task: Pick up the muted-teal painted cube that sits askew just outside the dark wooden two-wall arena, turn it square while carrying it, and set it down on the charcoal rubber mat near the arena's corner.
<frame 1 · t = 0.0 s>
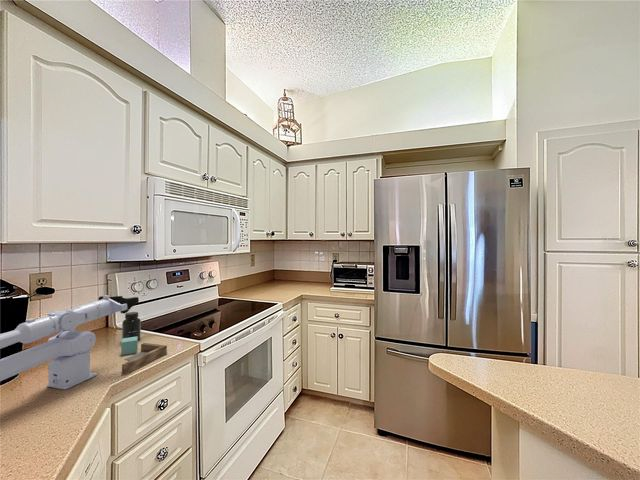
hand: (129, 299, 108), 22 cm above the countertop, tool horizontal, fingers open, 7 cm apart
cube: (129, 351, 111), on the countertop
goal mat: (140, 356, 106), on the countertop
supplement bottle: (131, 340, 124), on the countertop
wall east: (153, 352, 111), on the countertop
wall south: (144, 363, 101), on the countertop
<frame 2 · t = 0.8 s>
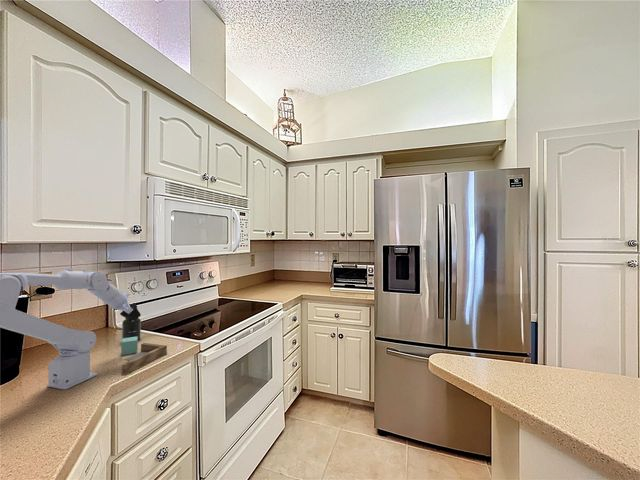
hand: (133, 312, 111), 16 cm above the countertop, tool tilted 50°, fingers open, 7 cm apart
nothing on the countertop moved.
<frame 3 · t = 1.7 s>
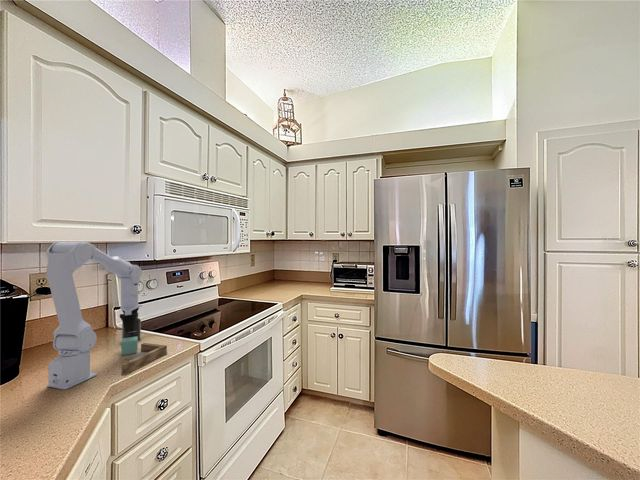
hand: (129, 328, 111), 9 cm above the countertop, tool pointing down, fingers open, 7 cm apart
nothing on the countertop moved.
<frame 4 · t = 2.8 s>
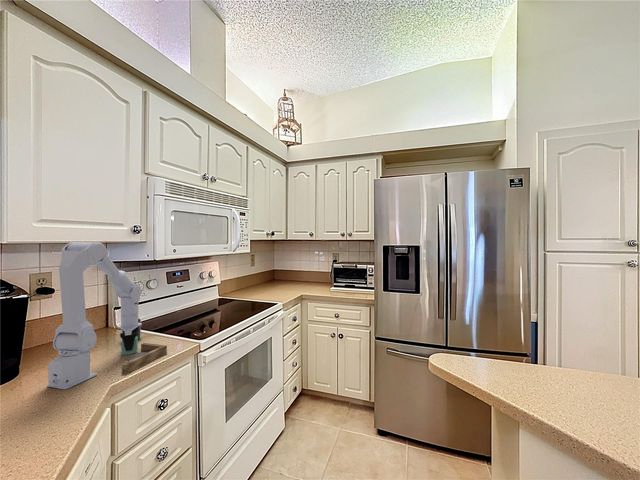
hand: (129, 348, 111), 1 cm above the countertop, tool pointing down, fingers closed on cube, 5 cm apart
cube: (129, 351, 111), on the countertop, touching gripper
everything else where it was.
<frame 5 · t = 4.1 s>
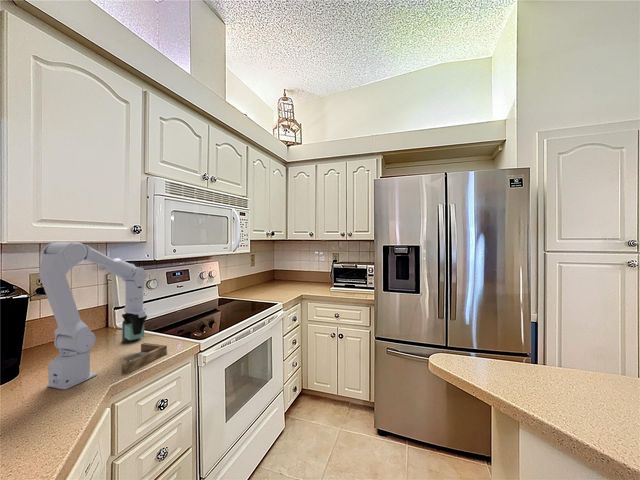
hand: (134, 332, 109), 8 cm above the countertop, tool pointing down, fingers closed on cube, 5 cm apart
cube: (134, 337, 109), point 7 cm above the countertop, touching gripper
everything else where it was.
when the fingers open (3 cm above the countertop, at t = 5.4 s): cube drops 1 cm, resting on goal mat.
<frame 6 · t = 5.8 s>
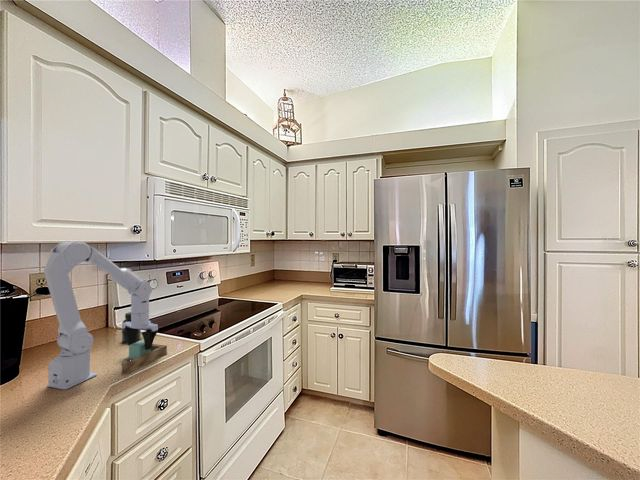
hand: (140, 348, 106), 3 cm above the countertop, tool pointing down, fingers open, 7 cm apart
cube: (140, 356, 106), resting on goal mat
everything else where it was.
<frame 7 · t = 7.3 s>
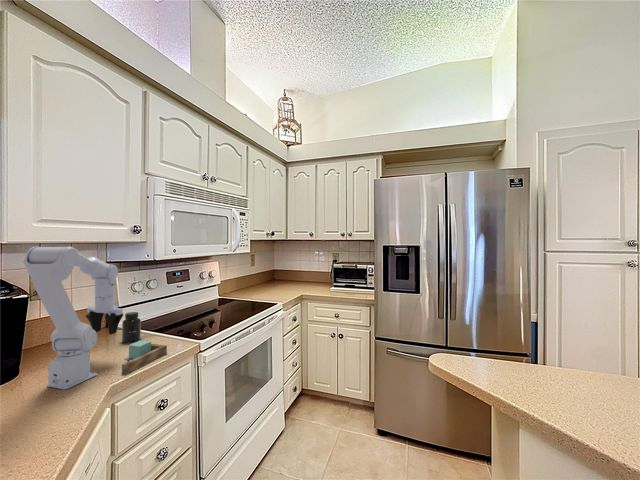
hand: (104, 332, 104), 10 cm above the countertop, tool pointing down, fingers open, 7 cm apart
nothing on the countertop moved.
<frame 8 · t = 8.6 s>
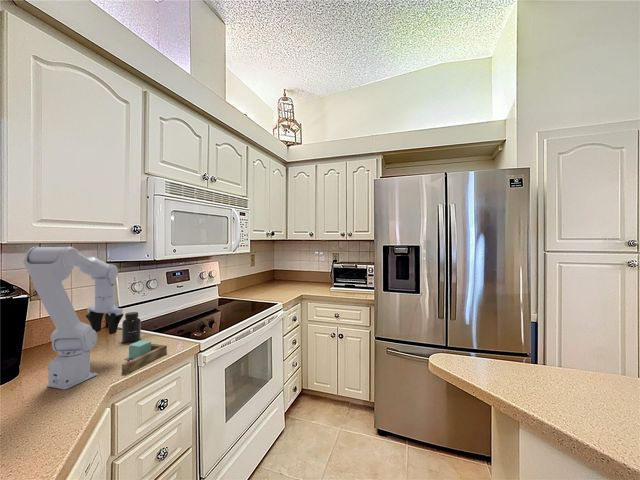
hand: (104, 332, 104), 10 cm above the countertop, tool pointing down, fingers open, 7 cm apart
nothing on the countertop moved.
at the end: cube inside the target area (0.0 cm from its centre), resting on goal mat; cube tilted 0°; the gripper is holding nothing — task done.
